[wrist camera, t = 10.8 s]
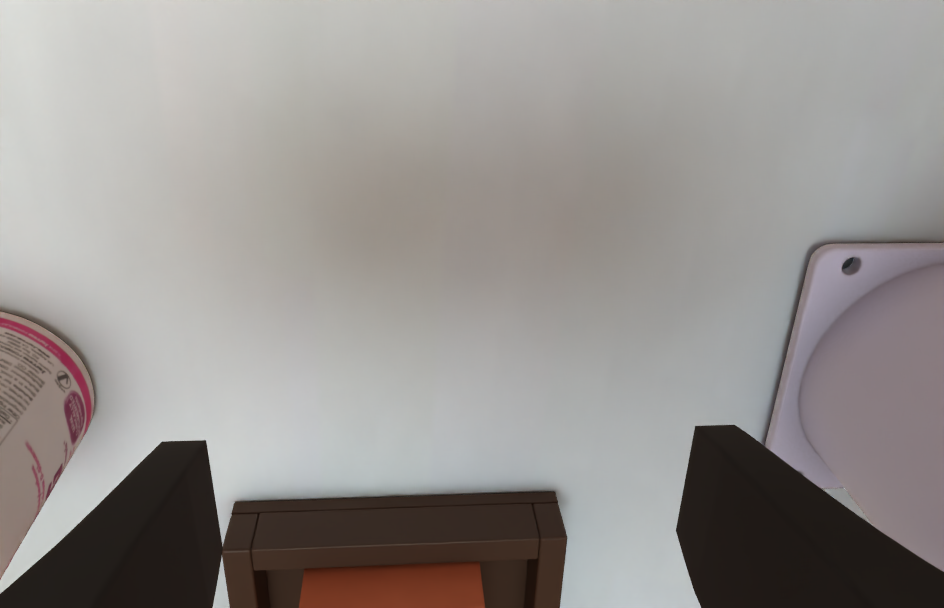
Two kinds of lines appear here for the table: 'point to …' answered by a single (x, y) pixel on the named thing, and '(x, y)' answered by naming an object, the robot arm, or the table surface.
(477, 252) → the table surface
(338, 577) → the pad
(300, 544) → the dark brown tray
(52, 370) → the pill bottle
